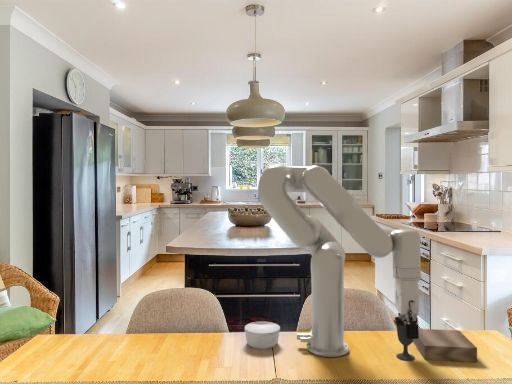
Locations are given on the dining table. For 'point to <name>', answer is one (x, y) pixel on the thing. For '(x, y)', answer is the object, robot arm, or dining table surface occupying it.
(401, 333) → the sundae
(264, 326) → the ramekin
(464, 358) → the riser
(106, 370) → the dining table surface
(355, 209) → the robot arm
